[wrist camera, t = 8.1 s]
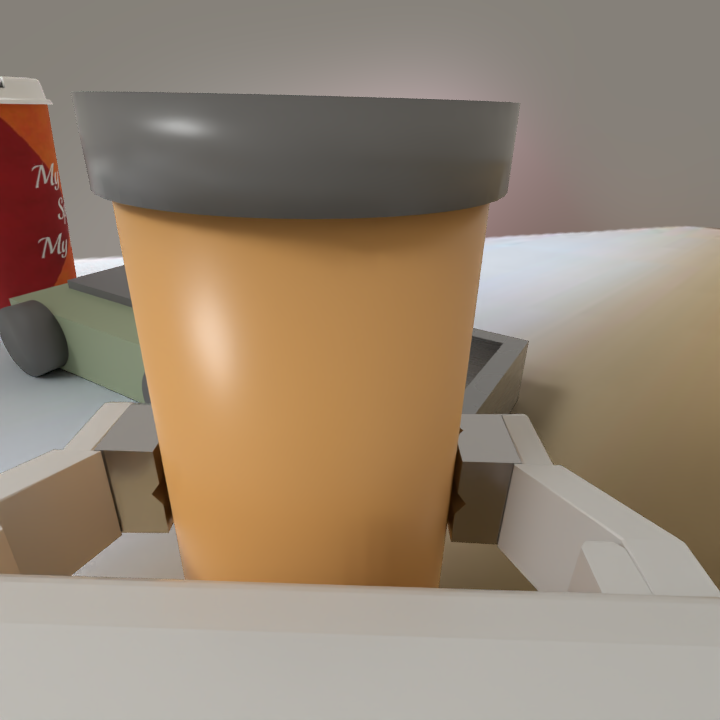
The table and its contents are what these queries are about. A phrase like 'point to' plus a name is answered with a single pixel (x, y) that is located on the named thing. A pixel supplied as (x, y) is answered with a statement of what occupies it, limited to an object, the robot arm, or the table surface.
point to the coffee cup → (30, 195)
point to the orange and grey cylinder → (303, 316)
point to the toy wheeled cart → (79, 332)
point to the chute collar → (493, 373)
